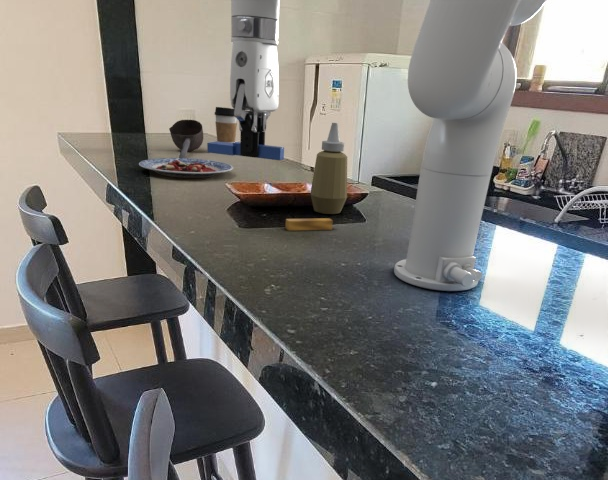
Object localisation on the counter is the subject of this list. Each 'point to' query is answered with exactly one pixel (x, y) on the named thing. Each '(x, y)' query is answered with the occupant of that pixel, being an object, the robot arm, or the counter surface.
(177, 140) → the ladle
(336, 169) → the squeeze bottle
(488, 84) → the robot arm
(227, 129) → the coffee cup
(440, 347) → the counter surface
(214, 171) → the ceramic plate
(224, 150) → the blue l-shaped block
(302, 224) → the fry
